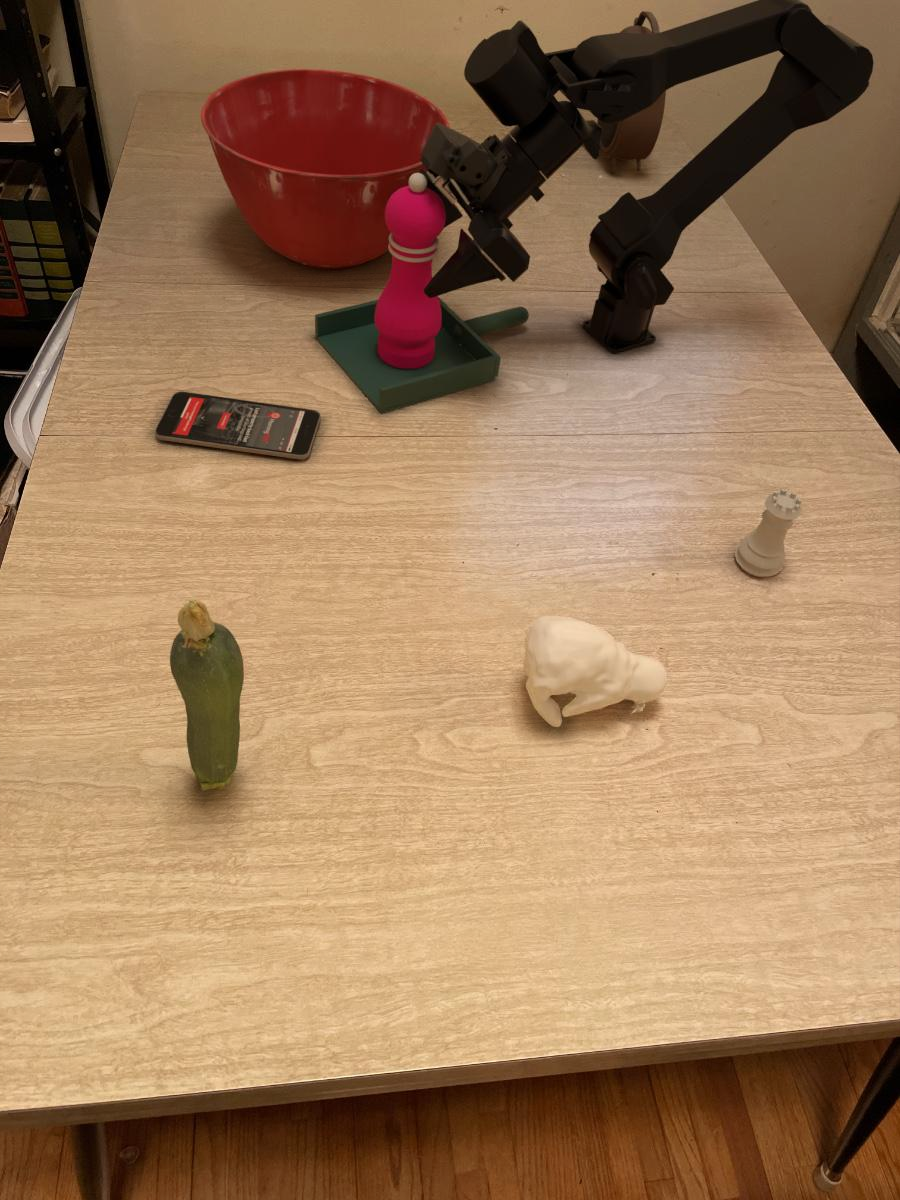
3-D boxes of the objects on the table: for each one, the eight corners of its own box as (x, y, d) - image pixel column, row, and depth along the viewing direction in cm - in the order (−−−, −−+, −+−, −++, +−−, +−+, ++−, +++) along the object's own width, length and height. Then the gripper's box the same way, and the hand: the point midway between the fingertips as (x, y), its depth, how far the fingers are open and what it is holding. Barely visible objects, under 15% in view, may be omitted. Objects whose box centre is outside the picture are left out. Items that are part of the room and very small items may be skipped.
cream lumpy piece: (530, 594, 72) (680, 606, 74) (504, 664, 78) (643, 673, 81) (541, 660, 68) (699, 671, 70) (513, 729, 74) (659, 736, 76)
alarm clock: (583, 140, 151) (611, -5, 136) (628, 142, 152) (660, -1, 137) (603, 182, 141) (635, 32, 126) (650, 184, 142) (688, 36, 127)
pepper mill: (359, 353, 106) (364, 172, 91) (399, 327, 110) (411, 150, 95) (411, 380, 103) (426, 199, 88) (450, 352, 107) (470, 174, 93)
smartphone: (175, 390, 97) (321, 410, 97) (176, 396, 98) (321, 416, 98) (152, 434, 92) (307, 456, 92) (153, 440, 93) (307, 462, 93)
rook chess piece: (781, 584, 88) (814, 520, 82) (733, 574, 88) (762, 510, 83) (780, 551, 91) (811, 487, 85) (733, 541, 91) (761, 477, 86)
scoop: (381, 413, 99) (382, 390, 97) (314, 337, 108) (314, 314, 105) (562, 360, 109) (567, 338, 107) (489, 294, 117) (492, 272, 115)
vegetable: (195, 750, 71) (161, 560, 56) (255, 749, 71) (237, 560, 56) (189, 803, 68) (152, 617, 53) (252, 802, 68) (232, 617, 53)
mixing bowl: (483, 270, 121) (499, 145, 109) (279, 325, 108) (273, 191, 97) (367, 176, 135) (370, 57, 124) (175, 214, 123) (159, 86, 112)
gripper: (446, 58, 94) (336, 178, 99) (516, 141, 82) (387, 271, 87) (510, 137, 102) (405, 244, 107) (582, 222, 90) (460, 337, 95)
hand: (412, 271), depth 99 cm, fingers open, 9 cm apart
